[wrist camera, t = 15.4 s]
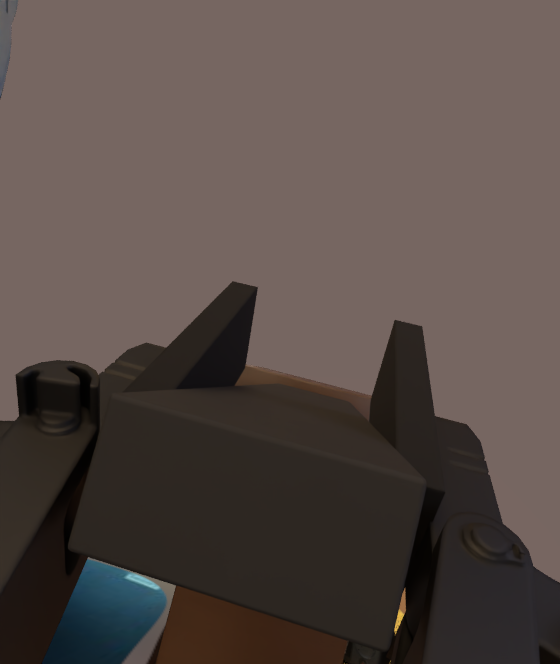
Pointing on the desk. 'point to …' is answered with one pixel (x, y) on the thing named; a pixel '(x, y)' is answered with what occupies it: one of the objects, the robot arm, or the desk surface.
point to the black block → (256, 504)
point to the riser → (242, 623)
